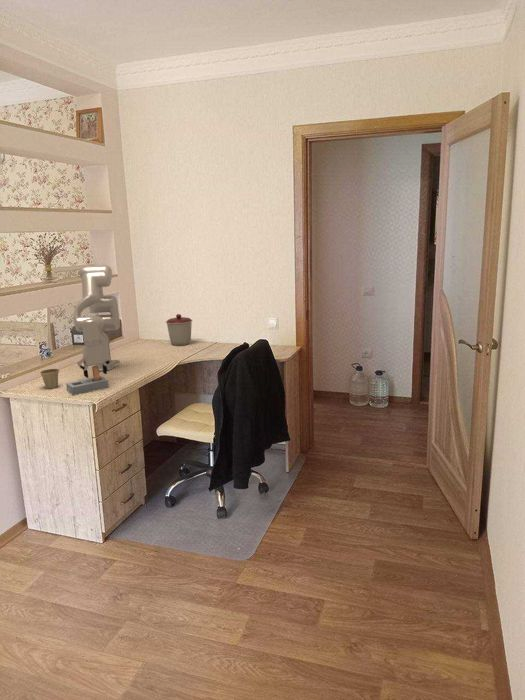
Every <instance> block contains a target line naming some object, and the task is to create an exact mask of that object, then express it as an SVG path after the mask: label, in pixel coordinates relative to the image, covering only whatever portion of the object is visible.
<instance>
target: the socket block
mask: <svg viewBox="0 0 525 700" xmlns="http://www.w3.org/2000/svg"><path fill="white" fill-rule="evenodd" d="M99 378H100V380H99V381H94V379H93V377H90V378H89V377H88V378H85V379H80V380H76V381H71V382H66V383H65V385H66V391H67V392H68V391H69V392H68V393H70V394H71V393H72V394H73V395H72V394H71V395H72V396H76V395H75V394H77V395H80V394H79V393H81V394H85V393H84V392H86V393H89V391H90V392H94V391H93V390H95V391H99V390H98V389H100V390H102V389H103V388H104V389H108V388H109V382H108V381H109V380H108V379H106V378H104V377H103V376H101V375H99ZM104 389H103V390H104Z"/></svg>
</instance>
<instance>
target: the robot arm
mask: <svg viewBox="0 0 525 700" xmlns="http://www.w3.org/2000/svg"><path fill="white" fill-rule="evenodd" d="M78 273H79V278H80V279H81V290H82V299H81V300H80V301H79V302H78V303H77V304H76V307H75V309H74V312H73V318H74V319H73V322H74V323H73V325H74V328H75V330H76V331H77V332H82V333H83V341H84V342H83V343H84V346H82V358H81V359H80V360H79V361H78V362H76V364H77V365H78V367H79V368H80V369H82V370H83V376H84V377H85V379H89V371H88V368H89V367H93V366H98V369H99V372H102V373H103V374H105V375H107V374H108V371H110V370H113V369H114V368H115V364H119V363H120V362H121V361H120V360H119V359H112V356H111V355H112V354H111V345H110V339H109V336H108V334H106V333H105V332H114V331H118V330H119V329H120V328H121V322H120V312H119V311H120V310H119V304H118V300H117V297H116V296H115V295H111V294H110V295H104V292H103V291H104V290H103V288H107V287H109V286H110V285H111V283H112V277H113V271H112V268H111V267H110V266H109V265H89V266H87V265H86V266H81V267H80V268H79V269H78ZM86 309H89V311H90V312H91V313H94V314H95V315H92V316H87V315H86V316H81V314H82V313H83V311H84V310H86ZM97 313H98V314H97ZM99 313H100V314H99ZM101 313H109V314H101ZM82 363H83V365H82Z"/></svg>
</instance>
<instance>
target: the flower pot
mask: <svg viewBox="0 0 525 700" xmlns="http://www.w3.org/2000/svg"><path fill="white" fill-rule="evenodd" d="M59 372H60V369H59V368H47V369H44V370H41V371H40V372H39V374H40V375H41V377H42V380H43V384H44V386H45V387H44V388H46V389H54V387H55V388H57V387H59Z"/></svg>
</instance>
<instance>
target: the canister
mask: <svg viewBox="0 0 525 700" xmlns="http://www.w3.org/2000/svg"><path fill="white" fill-rule="evenodd" d="M192 322H193V319H191V318H190V317H187V316H186V317H185V316H184V317H182V314H180V313H177V314H176V317H172V318H169V319H168V320H165V324H166V327H167V332H168V336H169V340H170V344H171V345H172V346H177V347H181V346H187V345H189V344H190V343H191V340H192Z"/></svg>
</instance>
